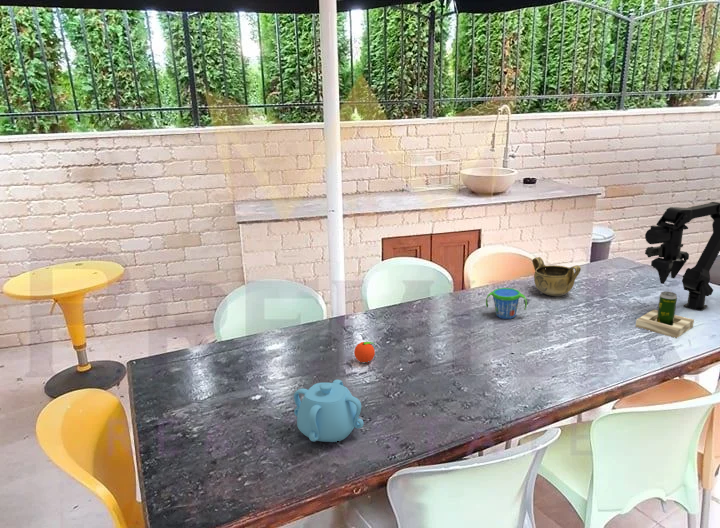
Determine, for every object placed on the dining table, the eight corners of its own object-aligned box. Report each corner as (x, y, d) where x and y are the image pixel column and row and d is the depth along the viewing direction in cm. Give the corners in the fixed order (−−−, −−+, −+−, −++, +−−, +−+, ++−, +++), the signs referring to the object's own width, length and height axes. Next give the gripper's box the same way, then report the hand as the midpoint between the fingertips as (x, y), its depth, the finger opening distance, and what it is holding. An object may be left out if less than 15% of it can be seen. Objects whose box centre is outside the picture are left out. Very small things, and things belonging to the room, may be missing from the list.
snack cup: (482, 318, 206) (483, 294, 203) (489, 309, 215) (489, 285, 212) (523, 323, 199) (524, 298, 196) (528, 313, 208) (529, 290, 205)
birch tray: (652, 317, 200) (653, 309, 199) (692, 328, 189) (694, 319, 188) (635, 328, 192) (636, 319, 191) (676, 339, 181) (677, 330, 180)
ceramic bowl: (588, 296, 223) (590, 262, 219) (563, 305, 214) (565, 271, 210) (544, 283, 241) (546, 252, 237) (520, 291, 232) (521, 259, 228)
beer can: (671, 322, 191) (675, 291, 188) (674, 328, 186) (678, 297, 183) (655, 321, 193) (658, 290, 190) (657, 326, 188) (661, 295, 185)
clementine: (373, 354, 179) (372, 335, 177) (381, 363, 173) (380, 343, 171) (351, 359, 177) (350, 340, 175) (358, 368, 171) (357, 348, 169)
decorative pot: (304, 455, 128) (300, 407, 124) (293, 420, 143) (289, 376, 139) (367, 441, 133) (364, 394, 129) (349, 408, 148) (347, 365, 144)
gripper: (661, 233, 206) (656, 271, 211) (638, 242, 195) (634, 281, 200) (691, 238, 198) (686, 277, 202) (670, 247, 187) (665, 288, 191)
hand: (667, 280), depth 199 cm, fingers open, 9 cm apart
